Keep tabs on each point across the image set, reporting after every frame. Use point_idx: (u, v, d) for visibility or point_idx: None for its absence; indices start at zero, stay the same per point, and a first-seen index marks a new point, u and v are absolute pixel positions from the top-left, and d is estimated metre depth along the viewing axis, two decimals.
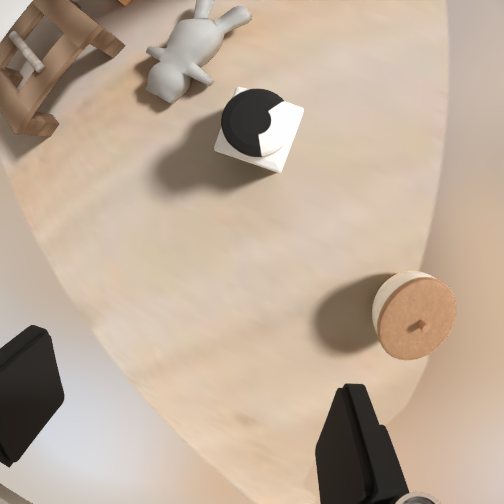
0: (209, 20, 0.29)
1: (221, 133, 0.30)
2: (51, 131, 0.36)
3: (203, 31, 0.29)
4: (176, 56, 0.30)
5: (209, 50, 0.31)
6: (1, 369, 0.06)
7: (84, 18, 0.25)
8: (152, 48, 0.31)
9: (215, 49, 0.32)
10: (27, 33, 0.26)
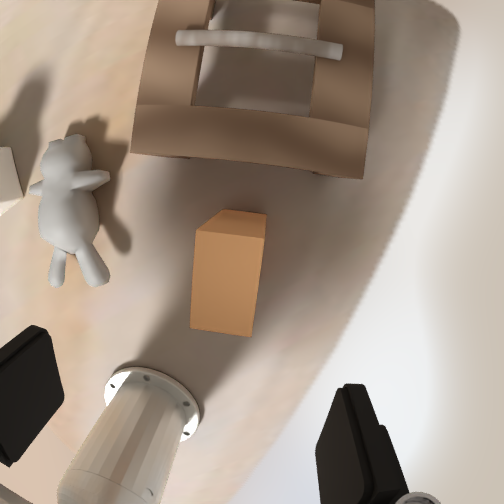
0: (67, 251, 0.27)
1: None
2: None
3: (49, 234, 0.25)
4: (56, 189, 0.25)
5: None
6: (1, 369, 0.06)
7: (169, 148, 0.20)
8: (91, 179, 0.25)
9: None
10: (314, 71, 0.19)
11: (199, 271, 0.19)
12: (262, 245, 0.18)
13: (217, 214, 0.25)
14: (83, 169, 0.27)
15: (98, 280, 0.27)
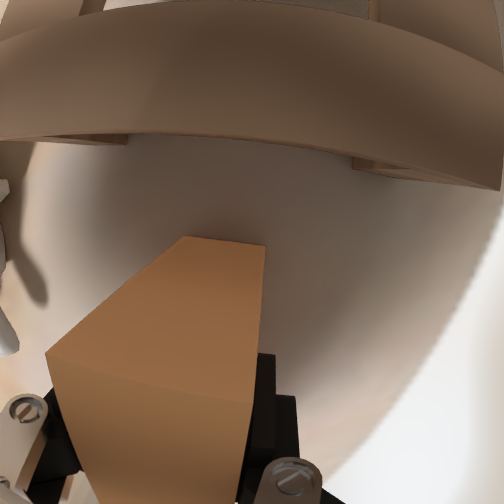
0: None
1: None
2: None
3: None
4: None
5: None
6: None
7: (29, 118, 0.07)
8: None
9: None
10: None
11: (83, 441, 0.05)
12: (245, 418, 0.05)
13: (161, 256, 0.12)
14: None
15: (2, 349, 0.14)
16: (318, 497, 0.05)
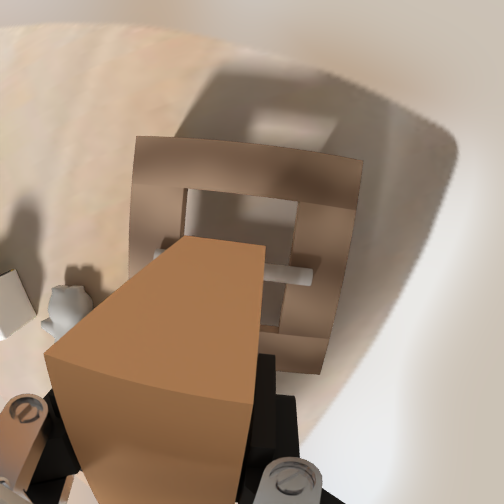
0: None
1: None
2: None
3: None
4: None
5: None
6: None
7: None
8: None
9: None
10: (285, 285, 0.24)
11: (81, 442, 0.05)
12: (245, 419, 0.05)
13: (161, 256, 0.12)
14: None
15: None
16: (318, 497, 0.05)
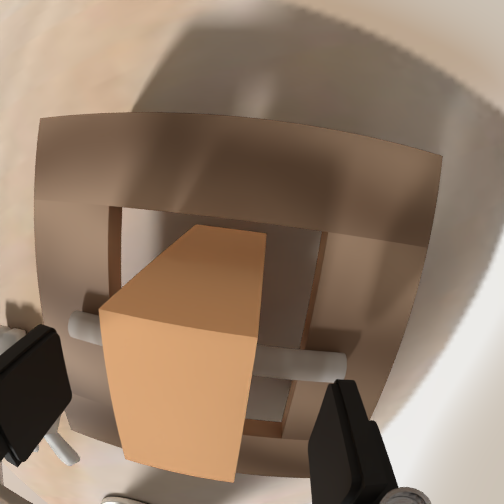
0: None
1: None
2: None
3: None
4: None
5: None
6: (11, 368, 0.06)
7: (111, 440, 0.14)
8: None
9: None
10: None
11: (119, 386, 0.08)
12: (252, 351, 0.07)
13: (178, 240, 0.14)
14: None
15: (69, 463, 0.22)
16: None
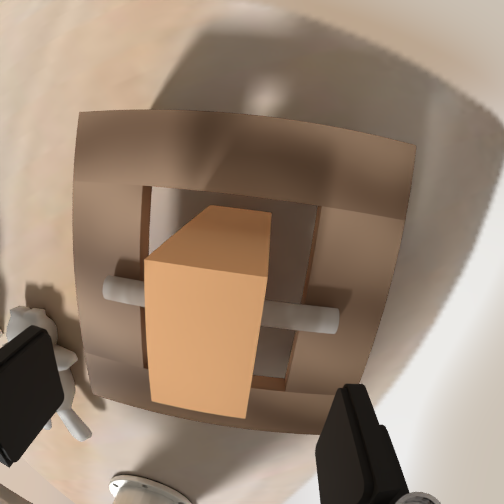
0: None
1: None
2: None
3: None
4: None
5: None
6: (1, 369, 0.06)
7: (131, 401, 0.17)
8: (58, 369, 0.23)
9: None
10: None
11: (155, 326, 0.11)
12: (263, 288, 0.10)
13: (197, 216, 0.17)
14: None
15: (81, 438, 0.25)
16: None
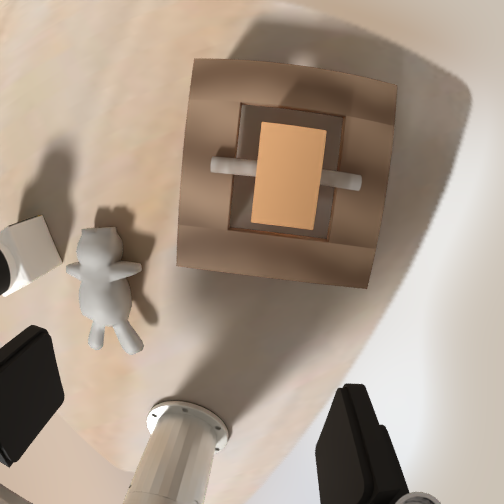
0: (106, 325, 0.34)
1: (11, 241, 0.28)
2: None
3: (90, 314, 0.32)
4: (95, 279, 0.31)
5: None
6: (1, 369, 0.06)
7: (211, 265, 0.26)
8: (127, 275, 0.32)
9: None
10: (334, 195, 0.24)
11: (263, 161, 0.19)
12: (324, 136, 0.18)
13: None
14: (116, 258, 0.33)
15: (134, 351, 0.34)
16: None
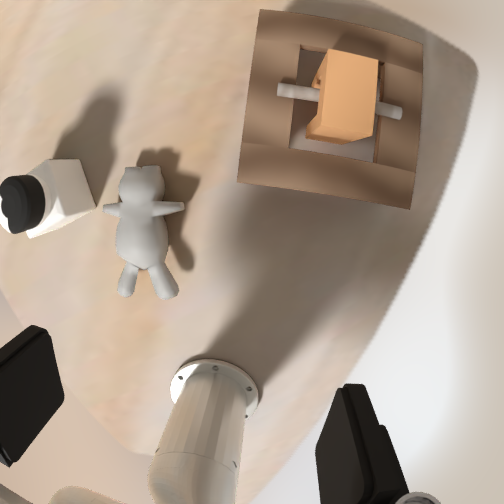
0: (141, 267, 0.34)
1: (49, 174, 0.28)
2: None
3: (126, 252, 0.33)
4: (136, 214, 0.32)
5: None
6: (1, 369, 0.06)
7: (271, 181, 0.27)
8: (171, 209, 0.33)
9: None
10: (378, 125, 0.26)
11: (330, 77, 0.20)
12: (377, 64, 0.20)
13: (317, 73, 0.27)
14: (159, 197, 0.34)
15: (169, 294, 0.35)
16: None
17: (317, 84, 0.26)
